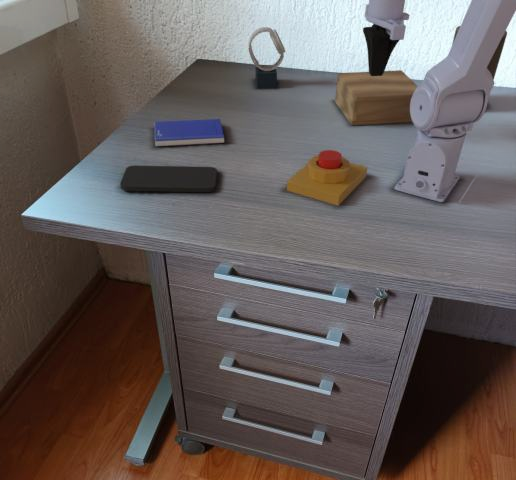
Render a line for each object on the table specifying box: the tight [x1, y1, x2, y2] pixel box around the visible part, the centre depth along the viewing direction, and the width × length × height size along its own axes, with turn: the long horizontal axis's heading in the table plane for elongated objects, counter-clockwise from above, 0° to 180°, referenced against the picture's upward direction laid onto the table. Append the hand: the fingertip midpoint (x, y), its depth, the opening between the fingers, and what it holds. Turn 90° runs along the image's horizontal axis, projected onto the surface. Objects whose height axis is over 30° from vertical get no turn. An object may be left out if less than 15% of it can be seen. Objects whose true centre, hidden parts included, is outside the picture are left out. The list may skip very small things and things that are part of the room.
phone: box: [120, 165, 218, 193], centre depth 85 cm, size 7×1×15 cm
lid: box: [337, 69, 419, 101], centre depth 103 cm, size 13×14×1 cm
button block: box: [286, 154, 368, 206], centre depth 84 cm, size 11×9×4 cm
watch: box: [247, 26, 286, 89], centre depth 114 cm, size 6×8×11 cm
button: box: [318, 149, 343, 169], centre depth 83 cm, size 4×4×2 cm
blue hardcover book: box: [154, 118, 225, 147], centre depth 97 cm, size 2×8×12 cm
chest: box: [334, 77, 413, 126], centre depth 106 cm, size 13×14×5 cm
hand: (375, 74), depth 92 cm, fingers closed
